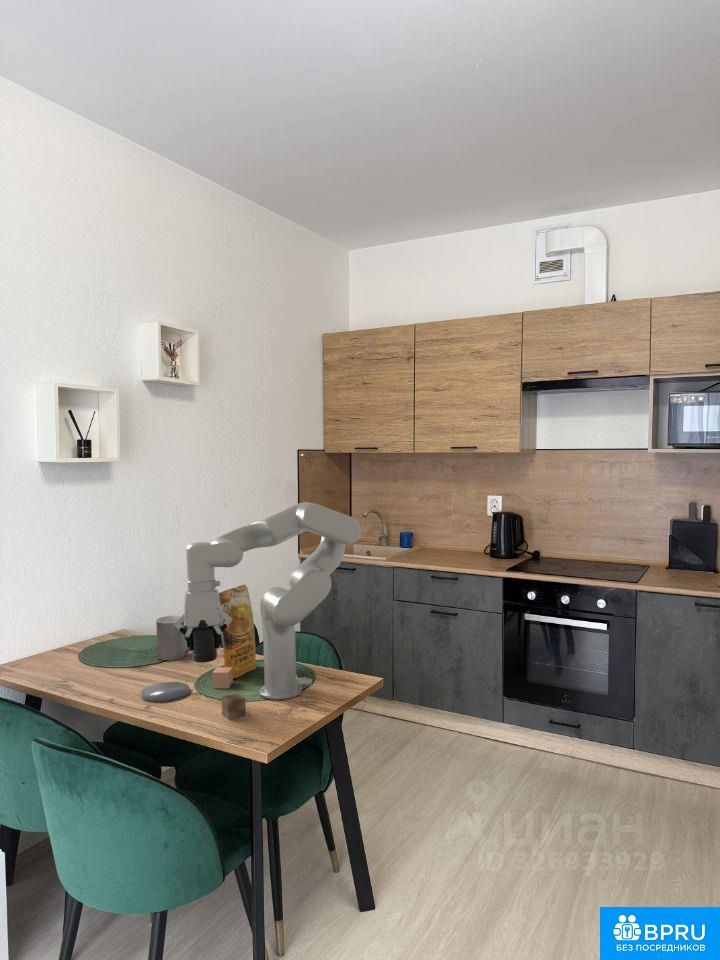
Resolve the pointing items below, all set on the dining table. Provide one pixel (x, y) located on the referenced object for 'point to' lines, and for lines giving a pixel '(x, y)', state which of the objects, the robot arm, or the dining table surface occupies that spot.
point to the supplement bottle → (204, 643)
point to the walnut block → (233, 706)
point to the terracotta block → (222, 676)
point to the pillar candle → (169, 639)
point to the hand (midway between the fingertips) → (204, 648)
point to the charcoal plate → (165, 691)
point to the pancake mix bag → (238, 631)
